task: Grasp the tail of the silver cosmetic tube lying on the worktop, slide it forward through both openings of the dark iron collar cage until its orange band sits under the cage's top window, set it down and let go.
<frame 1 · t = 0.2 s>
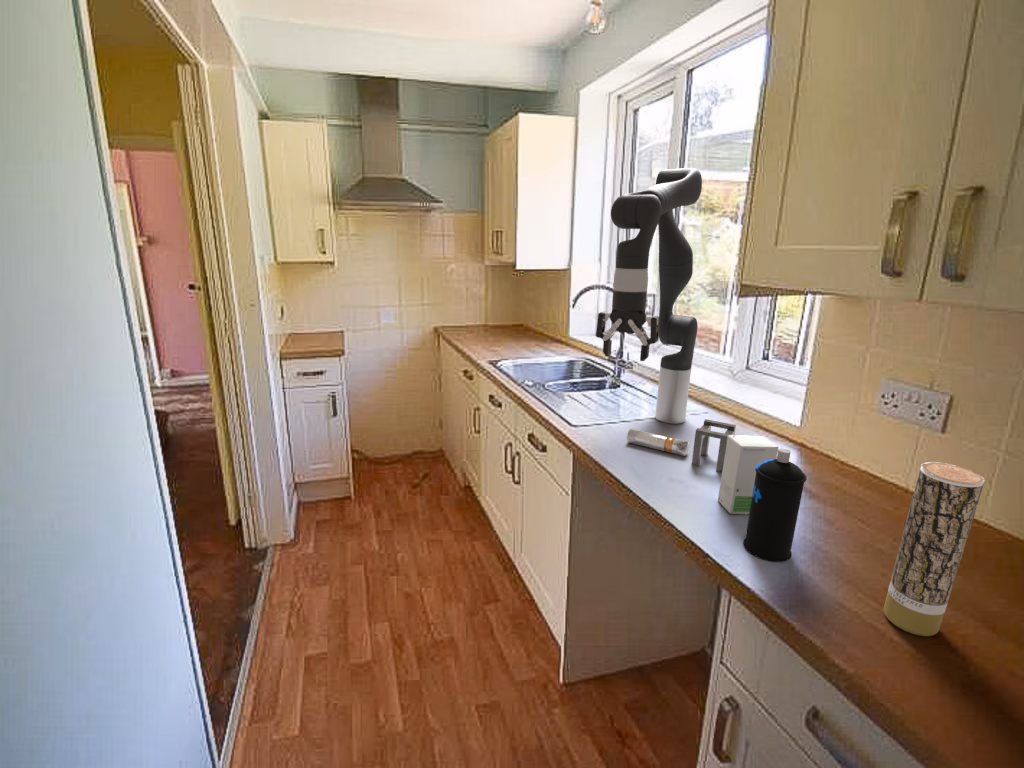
hand: (624, 358, 119), 28 cm above the worktop, tool pointing down, fingers open, 8 cm apart
paper tube: (909, 623, 77), on the worktop
silver cosmetic tube: (656, 448, 139), on the worktop
skincare box: (741, 507, 110), on the worktop
aerosol can: (766, 550, 95), on the worktop
collar cage: (711, 462, 131), on the worktop
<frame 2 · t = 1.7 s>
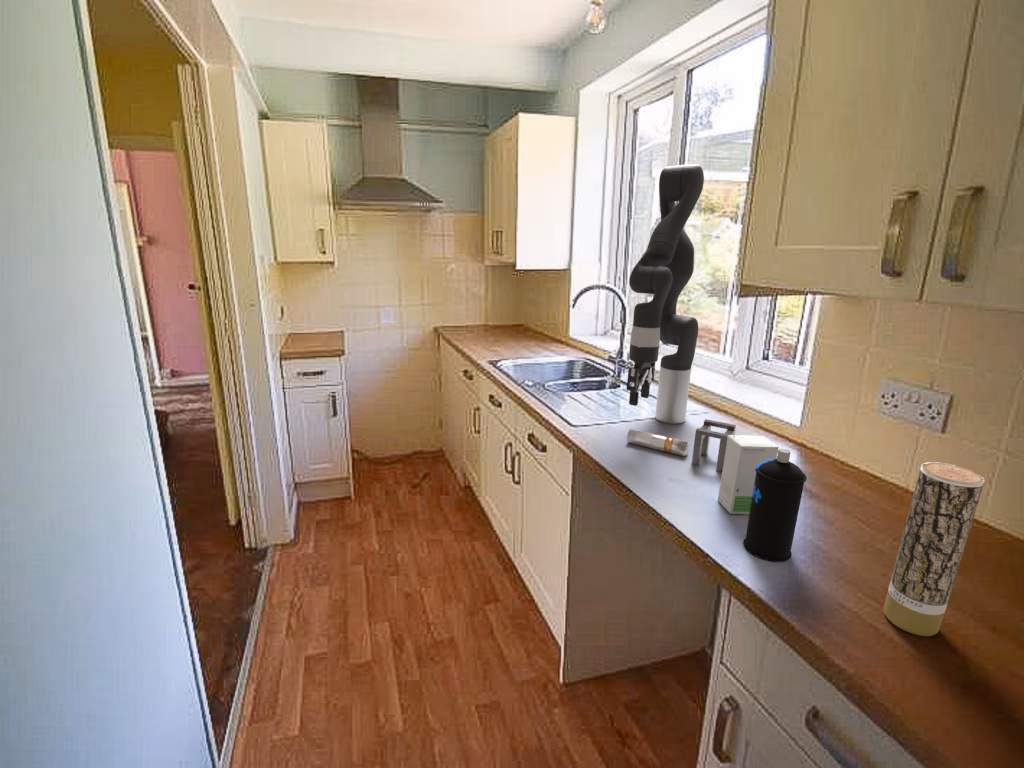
hand: (639, 401, 139), 13 cm above the worktop, tool pointing down, fingers open, 8 cm apart
nothing on the worktop moved.
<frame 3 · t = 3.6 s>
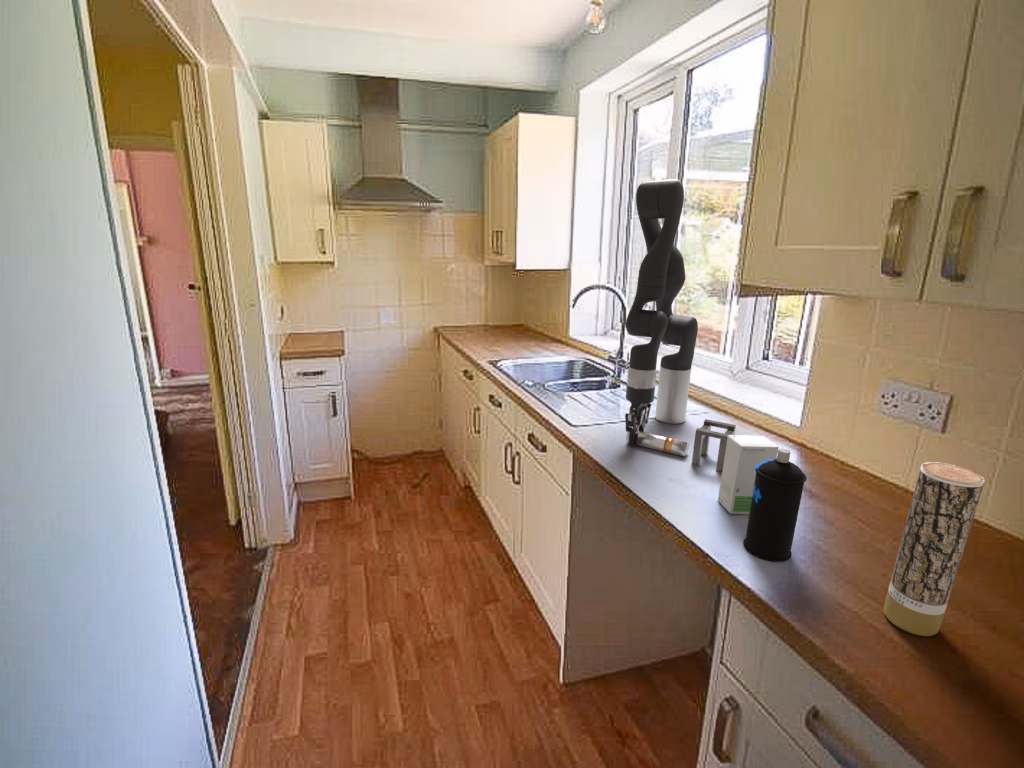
hand: (635, 442, 142), 1 cm above the worktop, tool pointing down, fingers closed on silver cosmetic tube, 4 cm apart
silver cosmetic tube: (656, 448, 139), on the worktop, tilted 9°, touching gripper
everything else where it was.
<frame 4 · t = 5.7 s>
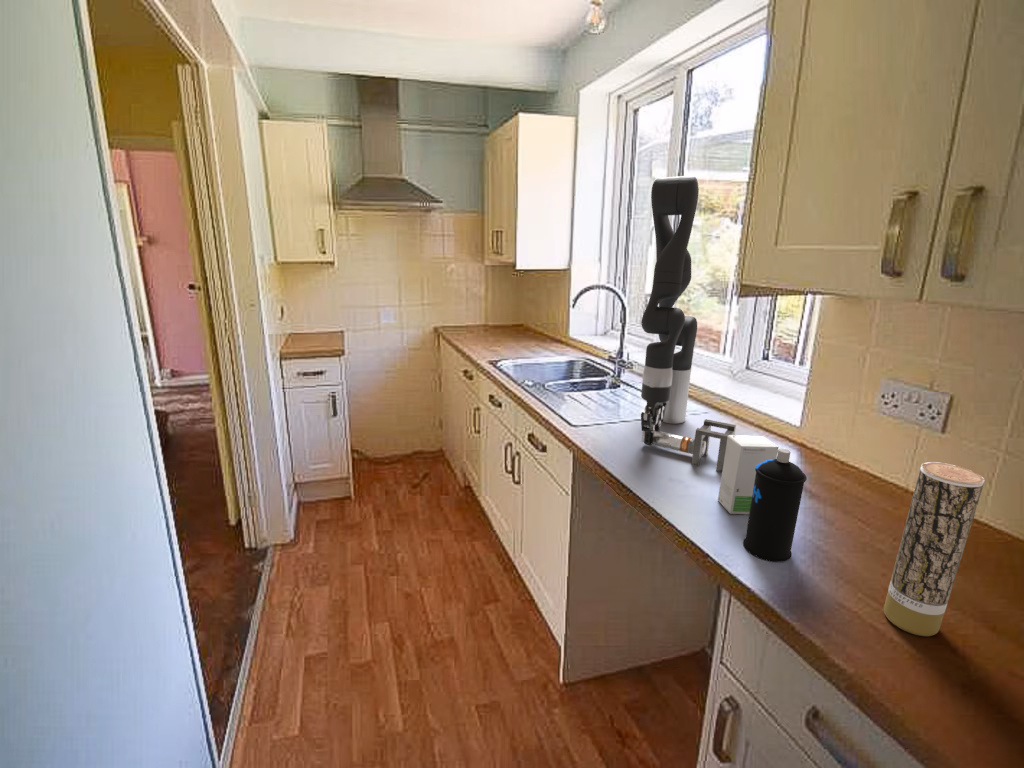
hand: (651, 441, 140), 2 cm above the worktop, tool pointing down, fingers closed on silver cosmetic tube, 4 cm apart
silver cosmetic tube: (672, 448, 137), point 1 cm above the worktop, tilted 9°, touching gripper
everything else where it was.
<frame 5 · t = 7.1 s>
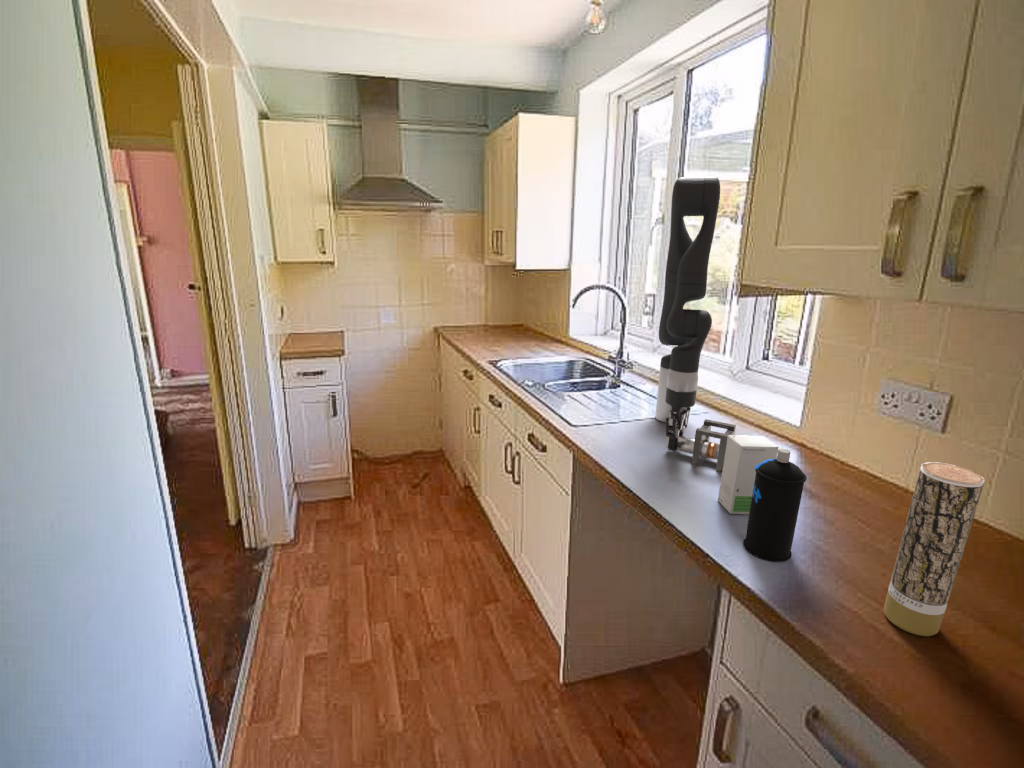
hand: (674, 447, 136), 2 cm above the worktop, tool pointing down, fingers closed on silver cosmetic tube, 4 cm apart
silver cosmetic tube: (697, 454, 133), point 1 cm above the worktop, tilted 9°, touching gripper
everything else where it was.
when the fingers open (1 cm above the worktop, at t = 7.9 s): silver cosmetic tube stays where it is, on the worktop.
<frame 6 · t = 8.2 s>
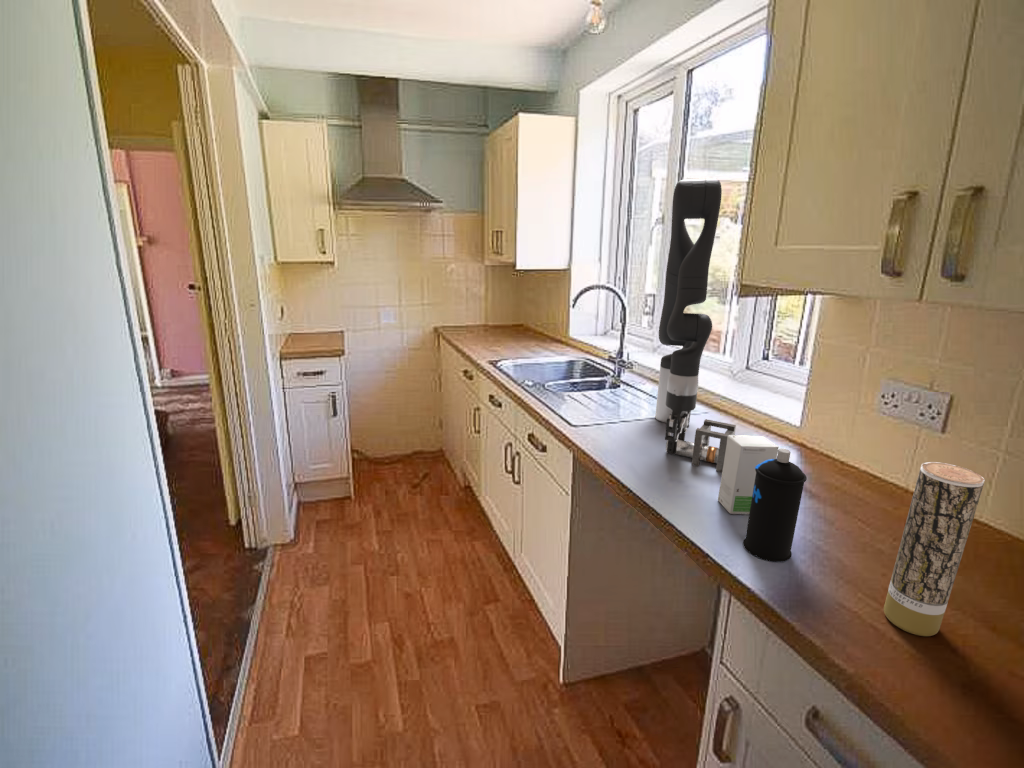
hand: (675, 448, 136), 1 cm above the worktop, tool pointing down, fingers open, 6 cm apart
silver cosmetic tube: (697, 458, 134), on the worktop, tilted 9°
everything else where it was.
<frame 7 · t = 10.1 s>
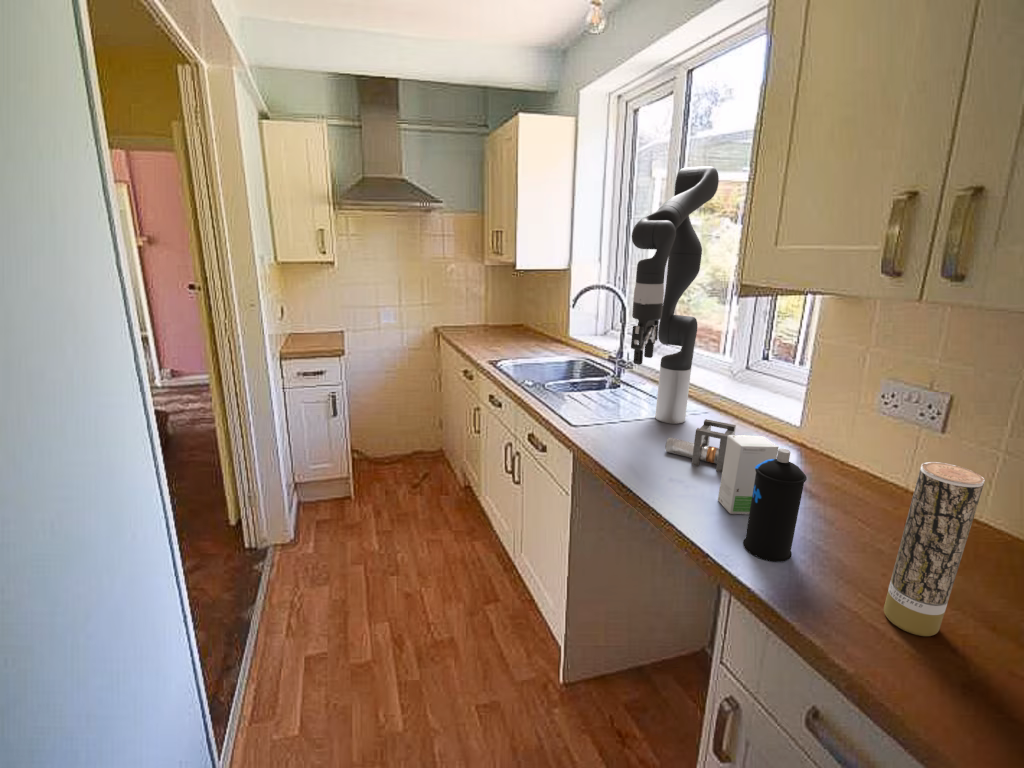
hand: (643, 360, 137), 24 cm above the worktop, tool pointing down, fingers open, 8 cm apart
nothing on the worktop moved.
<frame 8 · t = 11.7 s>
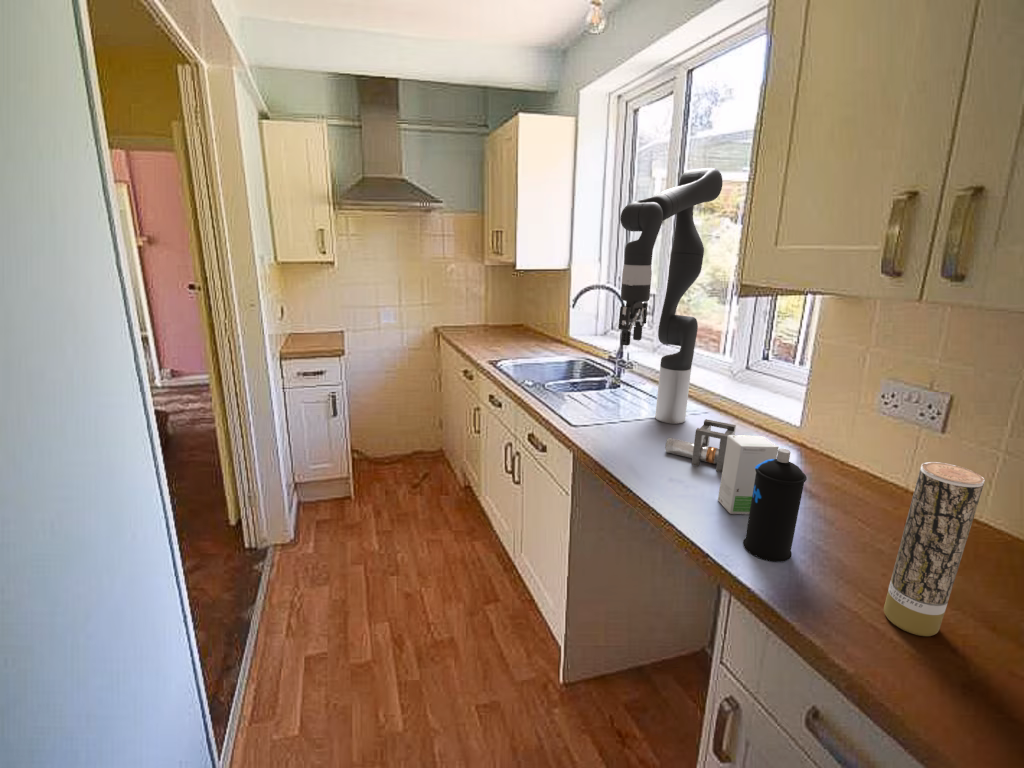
hand: (631, 342, 138), 28 cm above the worktop, tool pointing down, fingers open, 8 cm apart
silver cosmetic tube: (697, 457, 133), on the worktop, tilted 19°
everything else where it was.
at the end: silver cosmetic tube 1.1 cm from the target spot on the collar cage, point 0.1 cm above the collar cage's base; silver cosmetic tube on the worktop; the gripper is holding nothing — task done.
